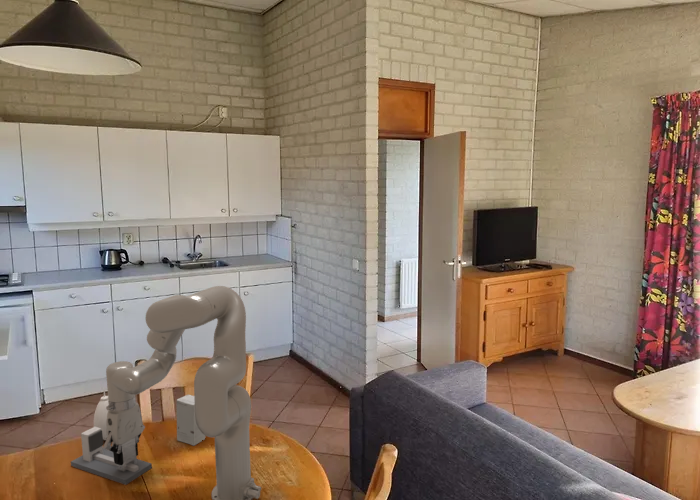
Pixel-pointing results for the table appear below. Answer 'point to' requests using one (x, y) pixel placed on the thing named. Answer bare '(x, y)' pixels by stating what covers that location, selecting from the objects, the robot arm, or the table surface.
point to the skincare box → (187, 421)
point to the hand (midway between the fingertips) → (126, 458)
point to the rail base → (105, 459)
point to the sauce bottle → (101, 415)
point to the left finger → (128, 454)
